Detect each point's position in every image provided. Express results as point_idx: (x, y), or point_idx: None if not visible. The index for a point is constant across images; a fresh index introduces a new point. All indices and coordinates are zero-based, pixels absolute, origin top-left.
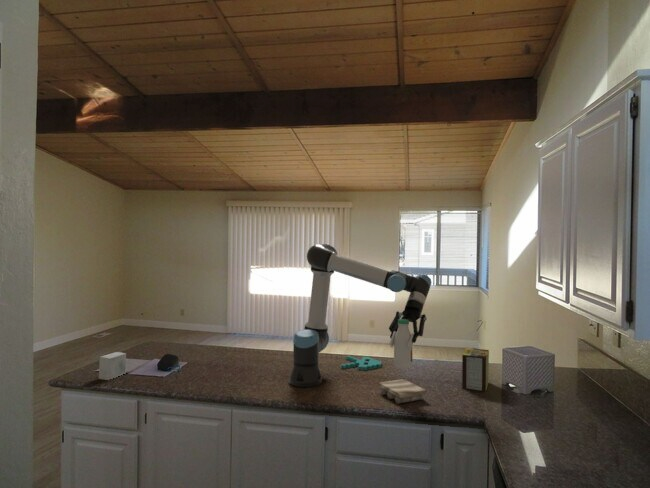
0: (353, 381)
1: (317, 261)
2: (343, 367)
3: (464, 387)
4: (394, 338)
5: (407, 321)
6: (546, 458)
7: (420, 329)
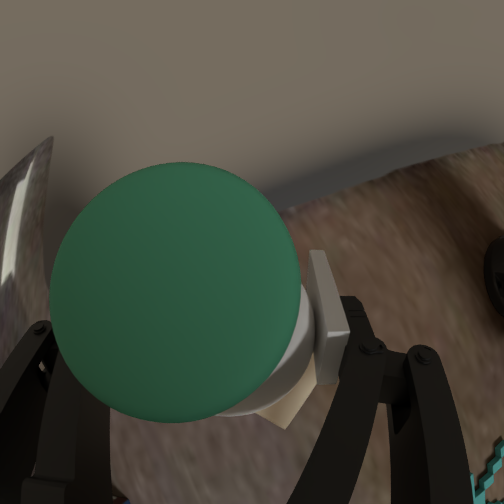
0: None
1: None
2: (500, 444)
3: (121, 498)
4: (315, 315)
5: (72, 240)
6: (10, 203)
7: (23, 347)
